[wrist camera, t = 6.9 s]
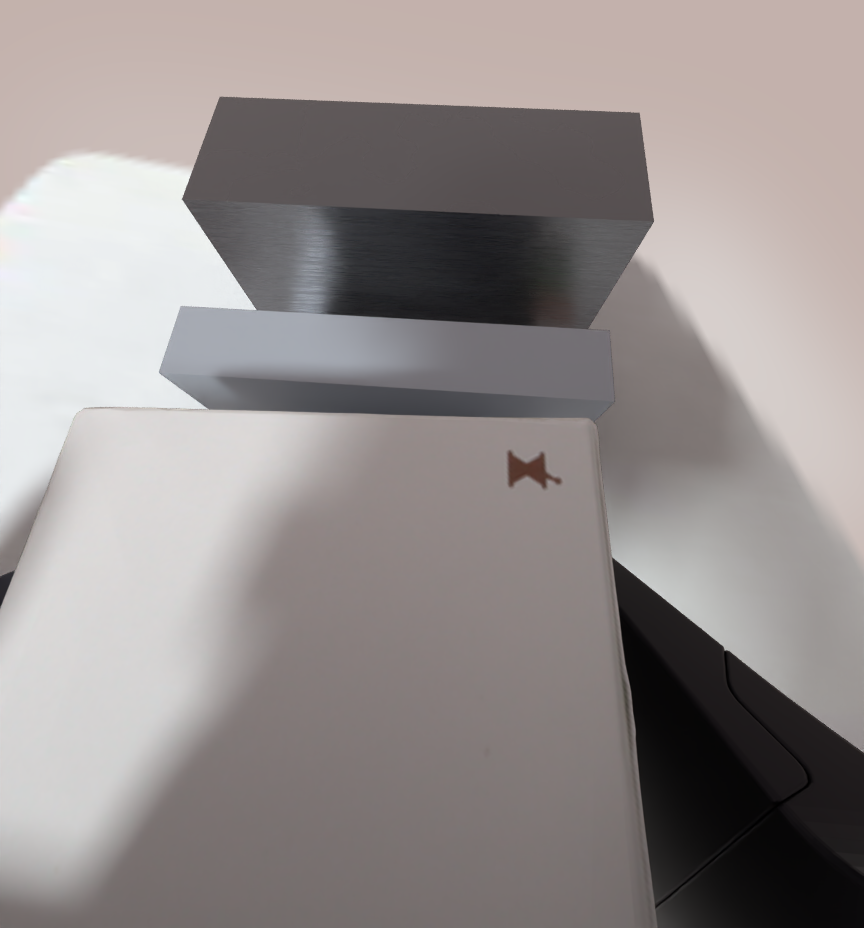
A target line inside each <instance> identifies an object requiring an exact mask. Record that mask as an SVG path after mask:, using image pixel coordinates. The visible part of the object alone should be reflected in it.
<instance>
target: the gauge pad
mask: <svg viewBox="0 0 864 928" xmlns="http://www.w3.org/2000/svg"><path fill="white" fill-rule="evenodd" d="M159 373H160V374H161V375H163V376H164V377H165V378H167V379H168V380H169V381H171V382H172V383H174V384H175V385H176V386H178V387H179V388H180V389H182V390H183V391H185V392H186V393H187V394H189V395H190V396H191V397H193V398H194V399H195V400H197V401H198V402H200V403H201V404H202V405H204V406H205V407H206V408H208V409H209V410H247V411H286V412H316V413H360V414H384V415H417V416H455V417H510V418H589V419H591V420H592V421H593V422H594V421H595V420H596V419H597V418H598V417H599V416H600V415H602V414H603V413H604V412H605V411H606V410H607V409H608V408H609V407H610V406H611V405H612V404H613V403H614V402H615V395H614V382H613V369H612V356H611V343H610V330H593V329H575V328H558V327H540V326H523V325H505V324H487V323H470V322H452V321H435V320H417V319H400V318H382V317H365V316H347V315H329V314H312V313H294V312H277V311H259V310H242V309H224V308H207V307H189V306H181V307H180V310H179V313H178V316H177V319H176V322H175V325H174V328H173V331H172V334H171V337H170V340H169V343H168V346H167V349H166V352H165V355H164V358H163V361H162V364H161V367H160V370H159Z"/></svg>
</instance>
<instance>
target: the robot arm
mask: <svg viewBox="0 0 864 928" xmlns="http://www.w3.org/2000/svg"><path fill="white" fill-rule="evenodd" d="M612 563H613V571H614V579H615V587H616V595H617V602H618V610H619V617H620V627H621V636H622V644H623V651H624V659H625V665H626V670H627V675H628V679H629V684H630V689H631V696H632V707H633V715H634V722H635V729H636V749H637V760H638V770H639V781H640V790H641V799H642V807H643V816H644V824H645V832H646V840H647V847H648V855H649V863H650V871H651V879H652V887H653V894H654V903H655V911H656V919H657V928H864V753H863V752H862V751H860V750H859V749H858V748H856V747H855V746H854V745H852V744H851V743H849V742H848V741H847V740H845V739H844V738H842V737H841V736H840V735H838V734H837V733H836V732H834V731H833V730H831V729H830V728H829V727H827V726H826V725H825V724H823V723H822V722H821V721H819V720H818V719H816V718H815V717H814V716H812V715H811V714H810V713H808V712H807V711H806V710H804V709H803V708H802V707H800V706H799V705H798V704H796V703H795V702H793V701H792V700H791V699H789V698H788V697H787V696H785V695H784V694H783V693H782V692H780V691H779V690H778V689H776V688H775V687H774V686H773V685H771V684H770V683H769V682H767V681H766V680H765V679H764V678H762V677H761V676H760V675H758V674H757V673H756V672H755V671H753V670H752V669H751V668H750V667H748V666H747V665H746V664H745V663H743V662H742V661H741V660H740V659H738V658H737V657H736V656H735V655H733V654H732V653H731V652H730V651H728V650H725V651H724V647H723V646H722V645H721V644H719V643H718V642H717V641H716V640H714V639H713V638H712V637H711V636H709V635H708V634H707V633H706V632H705V631H703V630H702V629H701V628H700V627H698V626H697V625H696V624H695V623H693V622H692V621H691V620H690V619H688V618H687V617H686V616H685V615H683V614H682V613H681V612H680V611H678V610H677V609H676V608H675V607H673V606H672V605H671V604H670V603H668V602H667V601H666V600H665V599H663V598H662V597H661V596H660V595H658V594H657V593H656V592H655V591H653V590H652V589H651V588H650V587H648V586H647V585H646V584H645V583H643V582H642V581H641V580H640V579H639V578H637V577H636V576H635V575H634V574H632V573H631V572H630V571H629V570H627V569H626V568H625V567H624V566H622V565H621V564H620V563H619V562H617V561H616V560H615V559H614V558H612ZM14 572H15V571H12V572H10V573H7V574H5V575H2V576H0V608H1V605H2V603H3V600H4V598H5V595H6V593H7V590H8V588H9V585H10V582H11V580H12V577H13V575H14Z"/></svg>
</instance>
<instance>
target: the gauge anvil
mask: <svg viewBox="0 0 864 928" xmlns="http://www.w3.org/2000/svg"><path fill="white" fill-rule="evenodd" d="M644 151H645V150H644V143H643V135H642V128H641V120H640V114H639V113H631V112H605V111H578V110H550V109H524V108H500V107H499V108H498V107H473V106H472V107H471V106H447V105H445V106H444V105H420V104H419V105H418V104H395V103H393V104H392V103H368V102H342V101H316V100H290V99H263V98H238V97H236V98H235V97H220V98H219V101H218V103H217V106H216V109H215V111H214V114H213V117H212V120H211V122H210V125H209V128H208V130H207V133H206V136H205V139H204V141H203V144H202V147H201V149H200V152H199V155H198V157H197V160H196V163H195V165H194V168H193V171H192V174H191V176H190V179H189V182H188V184H187V187H186V190H185V193H184V195H183V198H182V200H183V201H184V203H185V204H186V206H187V207H188V209H189V210H190V212H191V213H192V215H193V216H194V218H195V219H196V221H197V222H198V224H199V225H200V227H201V228H202V230H203V231H204V233H205V234H206V236H207V237H208V239H209V240H210V241H211V243H212V244H213V246H214V247H215V249H216V250H217V252H218V253H219V255H220V256H221V258H222V259H223V261H224V262H225V264H226V265H227V267H228V268H229V270H230V271H231V273H232V274H233V276H234V277H235V278H236V280H237V281H238V283H239V284H240V286H241V287H242V289H243V290H244V292H245V293H246V295H247V296H248V298H249V299H250V301H251V302H252V304H253V305H254V307H255V308H256V310H259V311H277V312H294V313H312V314H329V315H347V316H365V317H382V318H400V319H417V320H435V321H452V322H470V323H487V324H505V325H523V326H540V327H558V328H575V329H588V328H589V326H590V325H591V323H592V321H593V320H594V318H595V316H596V315H597V313H598V312H599V310H600V308H601V307H602V305H603V303H604V302H605V300H606V299H607V297H608V295H609V294H610V292H611V291H612V289H613V287H614V286H615V284H616V282H617V281H618V279H619V278H620V276H621V274H622V273H623V271H624V269H625V268H626V266H627V265H628V263H629V261H630V260H631V258H632V256H633V255H634V253H635V252H636V250H637V248H638V247H639V245H640V243H641V242H642V240H643V239H644V237H645V235H646V233H647V232H648V230H649V229H650V227H651V226H652V224H653V222H654V218H653V211H652V204H651V196H650V189H649V181H648V173H647V166H646V158H645V152H644Z"/></svg>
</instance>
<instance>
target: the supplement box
mask: <svg viewBox="0 0 864 928" xmlns="http://www.w3.org/2000/svg"><path fill="white" fill-rule="evenodd" d="M0 928H657V919H656V911H655V903H654V894H653V887H652V879H651V871H650V863H649V855H648V847H647V840H646V832H645V824H644V816H643V807H642V799H641V790H640V781H639V770H638V760H637V749H636V729H635V722H634V715H633V707H632V696H631V689H630V684H629V679H628V675H627V670H626V665H625V659H624V651H623V644H622V636H621V627H620V617H619V610H618V602H617V595H616V587H615V579H614V571H613V563H612V555H611V546H610V538H609V530H608V521H607V513H606V504H605V496H604V488H603V480H602V471H601V462H600V449H599V435H598V429H597V425H596V424H595V423H594V422H593V421H592V420H591V419H589V418H510V417H455V416H417V415H384V414H360V413H316V412H286V411H247V410H206V409H182V408H176V409H167V408H138V407H95V408H84V409H82V410H81V411H79V412H78V413H77V414H76V415H75V417H74V419H73V421H72V424H71V426H70V429H69V432H68V434H67V437H66V440H65V442H64V445H63V447H62V450H61V452H60V455H59V457H58V460H57V463H56V466H55V468H54V471H53V474H52V477H51V479H50V482H49V485H48V488H47V490H46V493H45V495H44V498H43V500H42V503H41V505H40V508H39V510H38V513H37V515H36V518H35V521H34V523H33V526H32V529H31V532H30V534H29V537H28V540H27V542H26V545H25V547H24V550H23V552H22V555H21V557H20V560H19V562H18V565H17V567H16V570H15V572H14V575H13V577H12V580H11V582H10V585H9V588H8V590H7V593H6V595H5V598H4V600H3V603H2V605H1V608H0Z"/></svg>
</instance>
